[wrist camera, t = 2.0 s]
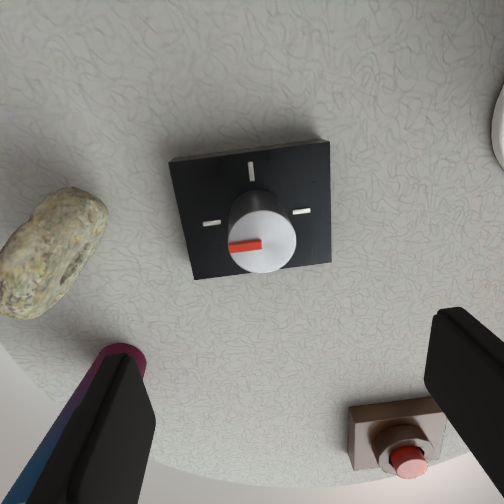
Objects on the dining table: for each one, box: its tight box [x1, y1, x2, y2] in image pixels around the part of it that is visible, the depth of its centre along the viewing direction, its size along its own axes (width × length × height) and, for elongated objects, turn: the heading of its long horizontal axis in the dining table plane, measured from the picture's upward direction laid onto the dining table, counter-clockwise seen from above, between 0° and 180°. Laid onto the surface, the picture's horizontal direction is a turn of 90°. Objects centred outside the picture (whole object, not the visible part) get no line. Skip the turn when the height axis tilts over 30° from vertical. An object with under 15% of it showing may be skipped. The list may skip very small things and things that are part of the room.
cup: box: [1, 344, 146, 504], centre depth 27 cm, size 7×7×15 cm
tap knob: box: [228, 190, 296, 273], centre depth 22 cm, size 4×4×6 cm
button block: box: [348, 397, 447, 475], centre depth 38 cm, size 11×9×4 cm
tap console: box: [168, 139, 332, 280], centre depth 26 cm, size 12×10×3 cm
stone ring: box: [0, 187, 109, 320], centre depth 23 cm, size 10×4×10 cm, turn 144°
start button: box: [390, 445, 428, 479], centre depth 36 cm, size 4×4×2 cm
